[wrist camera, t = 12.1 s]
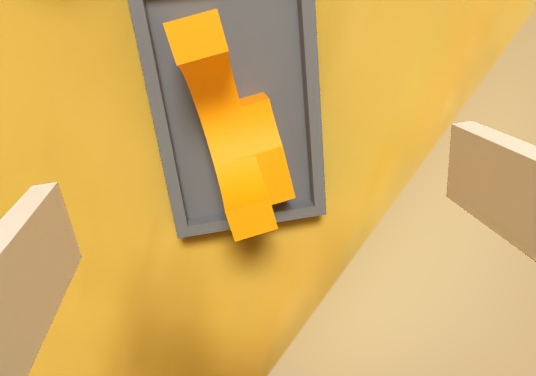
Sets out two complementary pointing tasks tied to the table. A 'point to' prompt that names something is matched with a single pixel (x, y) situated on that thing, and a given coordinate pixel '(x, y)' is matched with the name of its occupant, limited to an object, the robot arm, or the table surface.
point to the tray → (247, 83)
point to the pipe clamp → (232, 127)
